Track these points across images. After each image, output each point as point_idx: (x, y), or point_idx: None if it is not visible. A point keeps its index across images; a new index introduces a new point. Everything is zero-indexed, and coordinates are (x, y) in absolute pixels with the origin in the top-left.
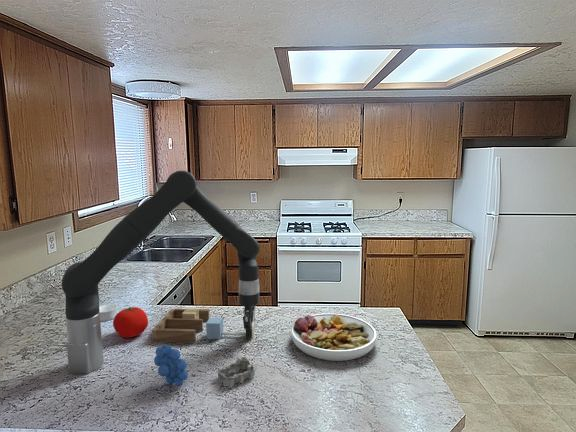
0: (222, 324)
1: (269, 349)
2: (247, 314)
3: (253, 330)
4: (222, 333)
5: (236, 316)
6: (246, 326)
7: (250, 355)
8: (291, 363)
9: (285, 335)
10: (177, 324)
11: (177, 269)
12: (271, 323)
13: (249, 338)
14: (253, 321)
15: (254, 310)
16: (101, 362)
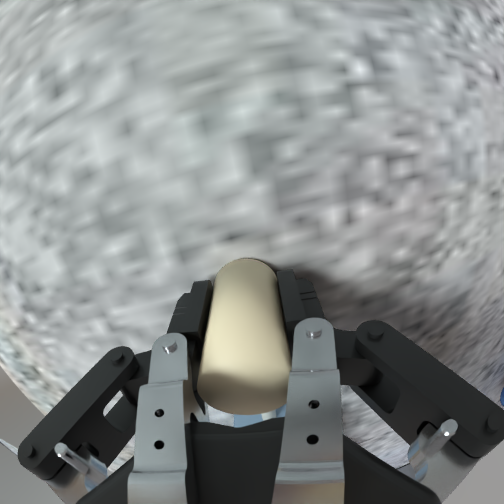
0: None
1: (409, 97)
2: (455, 484)
3: (250, 292)
4: (276, 416)
5: (57, 382)
6: (381, 375)
7: (469, 212)
8: (486, 6)
9: (149, 20)
10: None
11: (15, 449)
12: (14, 202)
13: (277, 281)
14: (238, 361)
15: (189, 496)
16: (409, 468)
